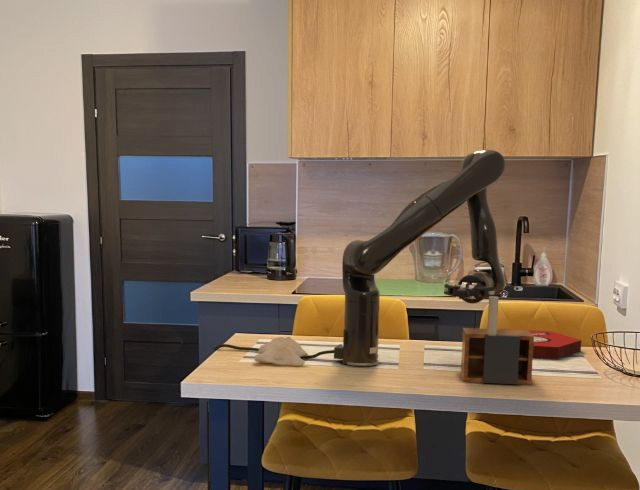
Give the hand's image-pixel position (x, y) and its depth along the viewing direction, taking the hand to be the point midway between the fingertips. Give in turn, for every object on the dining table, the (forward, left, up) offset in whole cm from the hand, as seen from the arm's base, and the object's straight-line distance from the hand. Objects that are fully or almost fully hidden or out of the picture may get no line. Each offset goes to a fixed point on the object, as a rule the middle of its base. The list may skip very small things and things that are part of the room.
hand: (462, 294), depth 176 cm
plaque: (+23, +47, -22) cm, 57 cm away
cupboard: (+9, +6, -22) cm, 25 cm away
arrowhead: (-47, +24, -22) cm, 57 cm away
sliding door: (+10, +1, -22) cm, 24 cm away
